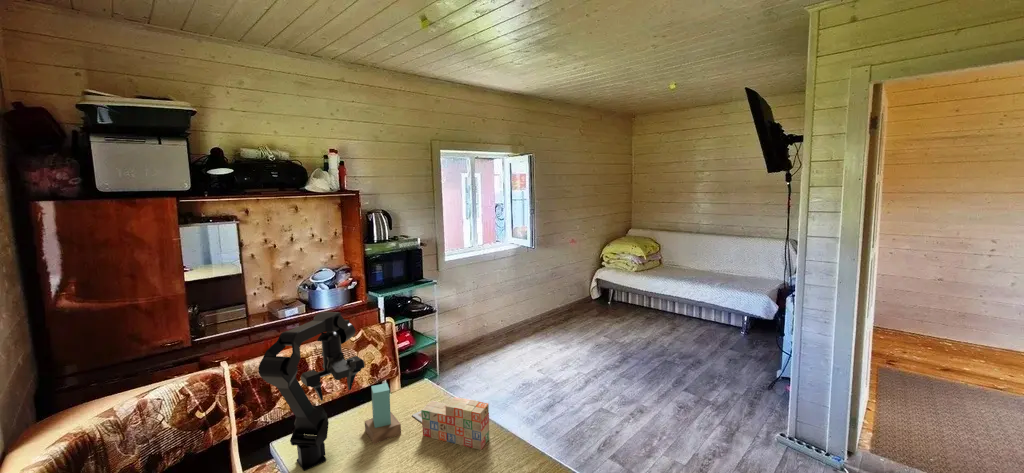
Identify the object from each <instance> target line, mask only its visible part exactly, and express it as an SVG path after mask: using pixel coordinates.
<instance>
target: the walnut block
mask: <svg viewBox="0 0 1024 473" xmlns="http://www.w3.org/2000/svg"><path fill="white" fill-rule="evenodd" d="M390 414H391V424H390V425H386V426H382V427H378V428H375V426H374V422H373V417H372V418H369V419H366V420H364V432H365V433H366V434H367V436H368V437H369V439H370V441H371V442H372V444H373V445H376V444H378V443H380V442H383V441H387V440H389V439H391V438H394V437H397V436H400V435H402V424H401V422H400V421H399V420H398V419H397V418H396V416H395V414H393V412H392V411H390Z"/></svg>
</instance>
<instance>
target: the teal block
mask: <svg viewBox="0 0 1024 473" xmlns="http://www.w3.org/2000/svg"><path fill="white" fill-rule="evenodd" d="M370 388H371V406H372V408H371V410H372V418H373V422H374V426H375V428H378V427H382V426H386V425H390V424H391V414H390V412H391V395H390V394H391V393H390V392H391V391H390V390H391V389H390V387H389V384H388V382H385V383H381V384H376V385H371V387H370Z"/></svg>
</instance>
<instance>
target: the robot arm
mask: <svg viewBox="0 0 1024 473" xmlns="http://www.w3.org/2000/svg"><path fill="white" fill-rule="evenodd" d="M355 335H356V328H355V326H354V325H353V323H350V319H344V317H343V316H342V314H341V312H338V311H337V312H336V311H320V312H319V313H318V314H316V315H314V316H313V320H311V321H308V322H305V323H304V324H301V325H299V326H296V327H295V328H291V329H289V330H285V331H282V332H281V333H280V335H279V336H278V339H277V340H276V341H275V342H274V343H273V344H272V345H271V346H270V347H269V348H268V349H267V350H266V351H265V353H264V355H263V357H262V358H261V361H260V362H259V365H258V369H257V370H258V374H259V377H260V378H261V379H263V381H264V382H266V383H267V384H268V385H271V386H274V387H276V388H277V390H278V391H279V393H280V395H281V396H282V397H283V399H284V400H285V402H286V403H287V406H289V408H290V410H291V411H292V413H293V414H294V416H295V420H294V423H293V424H294V429H293V432H292V433H291V437H290V439H289V442H290V444H291V446H296V447H297V448H296V449H297V459H296V463H297V464H298V466H299V467H300V468H301V469H302V470H303V471H307V470H308V469H311V468H313V467H316V466H317V465H320V464H322V463H324V462H326V461H327V457H326V444H325V441H326V440H327V439H328V431H329V424H330V423H329V422H330V421H329V418H328V413H327V412H326V410H325V408H324V406H323V405H322V406H321V405H313V404H312V402H311V401H310V398H308V396H307V394H306V392H305V390H304V389H303V387H302V385H301V384H300V382H299V381H298V379H297V374H298V371H299V369H298V365H299V363H300V361H301V359H302V356H301V355H302V354H301V346H302V344H303V343H304V342H306V341H308V340H311V339H312V338H314V337H317V336H318V337H317V339H316V340H317V342H321V351H322V352H321V356H322V368H323V370H320V371H316V370H315V369H311V370H308V371H305V372H302V373H301V375H300V380H301V383H302V384H303V385H304V386H306V387H309V388H312V389H314V391H315V393H316V395H317V397H318V398H319V400H320V401H321V402H323V400H324V396H323V391H322V383H321V379H322V378H324V377H327V376H329V375H331V376H332V377H333V379H334V380H336V381H340V380H341V379H344V378H346V383H347V389H348V391H351V390H352V387H353V384H354V382H355V377H356V375H357V374H358V373H360V372H361V371H362V369H364V368H365V367H366V366H365V364H366V363H365V361H364V359H362V358H360V357H359V356H357V355H355V356H352V357H349V358H348V357H347V358H345V355H344V352H343V351H342V350H343V349H342V345H343V344H345V343H346V342H348V341H349V340H350V339H352V338H353V337H354V336H355ZM286 347H291V351H292V352H291V355H290V356H281V355H280V356H279V353H281V352H283V350H284V349H285V348H286ZM277 355H278V356H277Z"/></svg>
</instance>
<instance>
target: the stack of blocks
mask: <svg viewBox="0 0 1024 473" xmlns="http://www.w3.org/2000/svg"><path fill="white" fill-rule="evenodd" d="M489 405H490V404H489V403H488V402H484V401H480V400H476V399H469V398H463V397H462V398H461V397H457V396H453V398H452V399H451V400H450V401H449V402H448V403H444V402H439V401H435V400H430V401H429V402H427V404H426V405H425V406H424V407H423V408H421V410H420V411H421V415H422V423H421V424H422V425H421V426H422V436H424V437H428V438H432V439H434V440H439V441H443V442H448V443H452V444H456V445H461V446H465V447H468V448H472V449H477V450H482V449H483V448H484V446H485V445H486V444H487V442H488V441H489V439H490V412H489V411H490V410H489Z"/></svg>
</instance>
